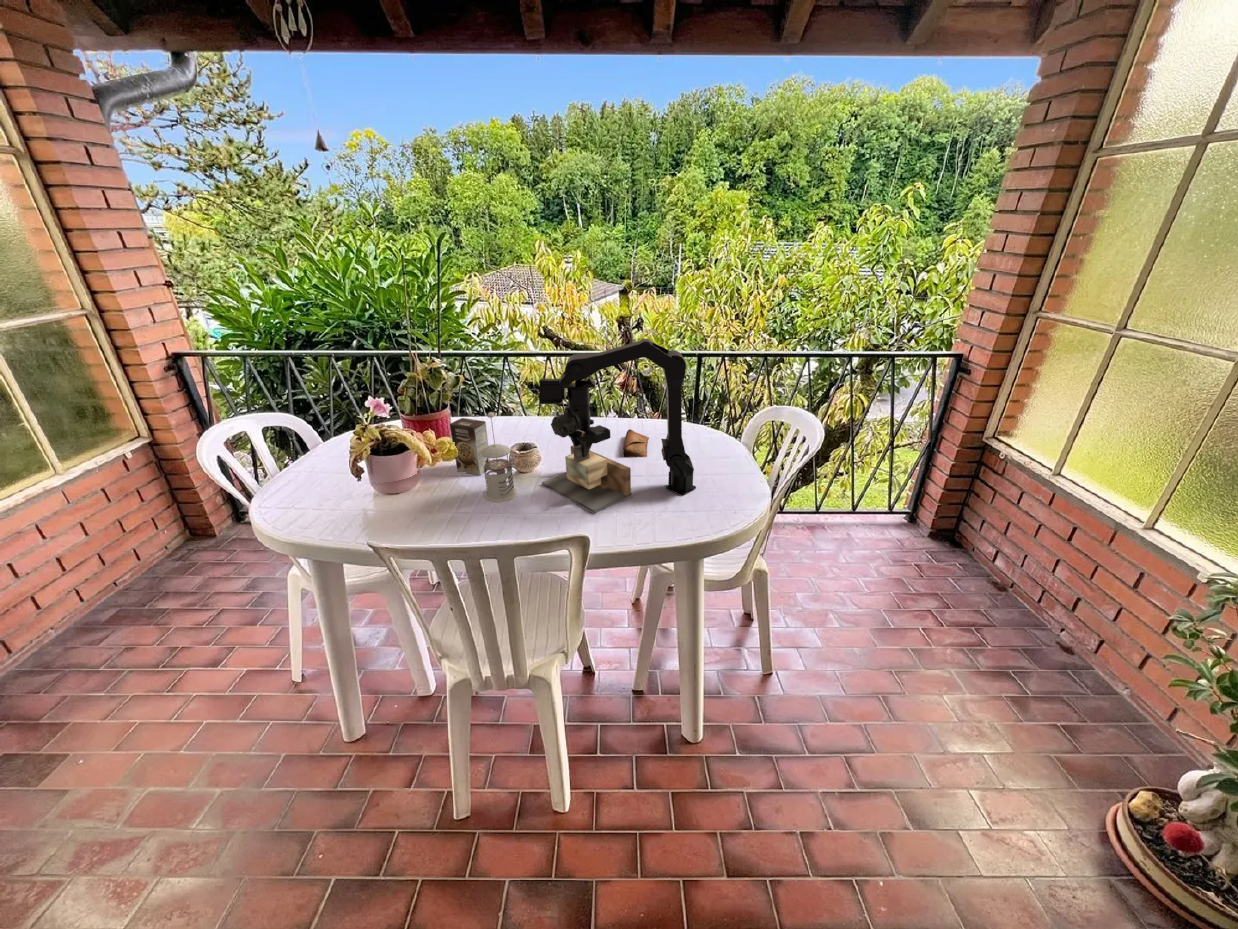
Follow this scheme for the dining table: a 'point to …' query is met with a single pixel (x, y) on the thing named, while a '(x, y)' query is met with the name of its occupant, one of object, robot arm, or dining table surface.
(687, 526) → the dining table surface
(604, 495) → the wall board
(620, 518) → the dining table surface
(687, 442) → the dining table surface
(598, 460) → the wooden block
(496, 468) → the french press
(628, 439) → the sunglasses case
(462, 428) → the coffee box
